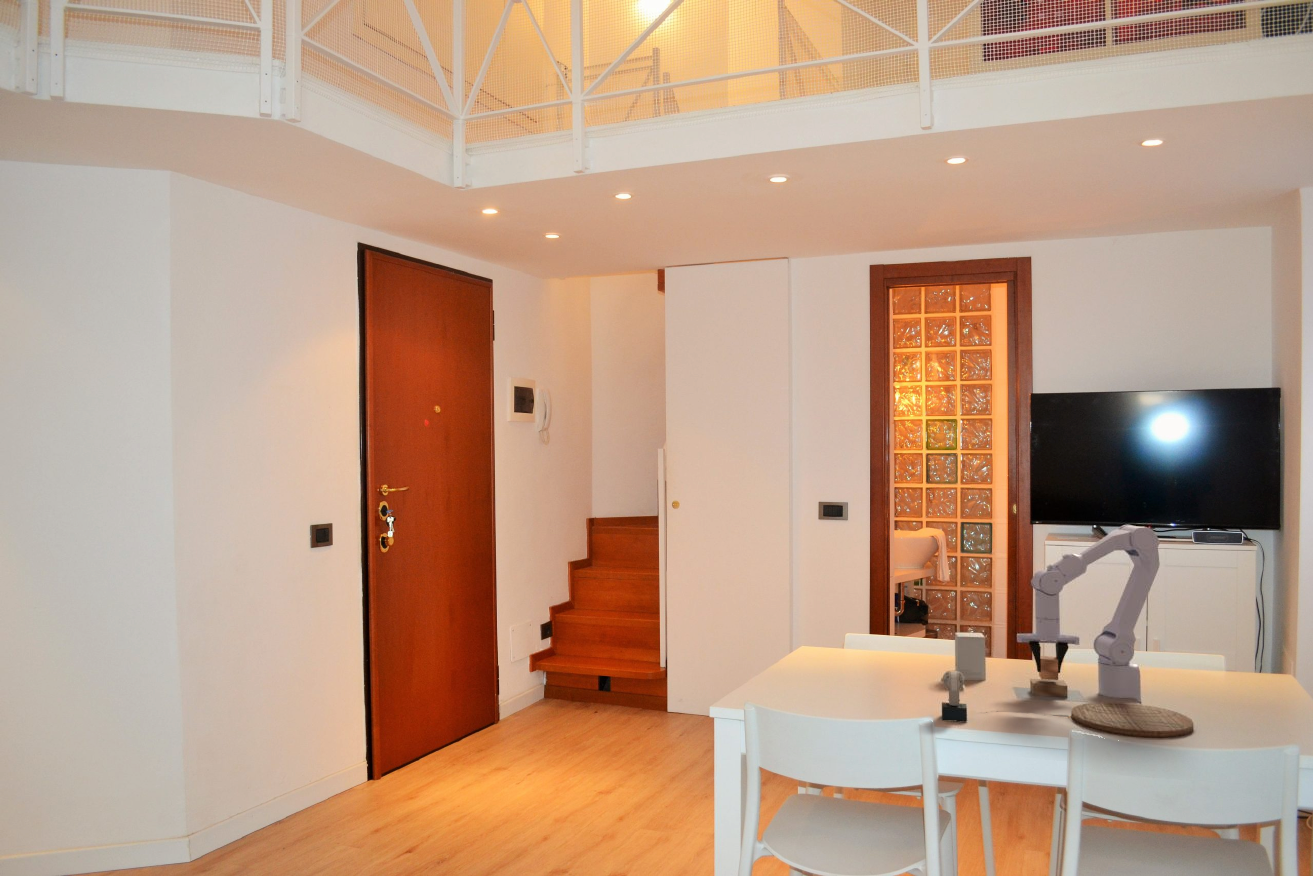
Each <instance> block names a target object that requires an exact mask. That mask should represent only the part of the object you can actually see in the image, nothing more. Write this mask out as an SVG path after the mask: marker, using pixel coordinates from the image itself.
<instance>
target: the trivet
mask: <svg viewBox="0 0 1313 876" xmlns="http://www.w3.org/2000/svg"><path fill="white" fill-rule="evenodd" d="M1071 719H1072V720H1073V722H1075V724H1078V725H1079V726H1081V727H1084V728H1087V729H1090V730H1093V731H1097V732H1101V733H1106V734H1111V735H1116V736H1123V737H1132V738H1141V739H1142V738H1143V739H1170V738H1171V739H1173V738H1180V737H1186V736H1189V735H1191V734H1192V733H1193V731H1194V721H1193V719H1191V718H1190V717H1188V716H1187V715H1186V714H1182V713H1179V712H1177V711H1174V710H1170V709H1166V708H1161V707H1156V706H1151V705H1144V704H1138V703H1125V702H1109V701H1107V702H1106V701H1105V702H1090V703H1082V704H1079V705H1076V706H1074V707H1073V708H1072V709H1071Z"/></svg>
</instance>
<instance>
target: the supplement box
mask: <svg viewBox="0 0 1313 876" xmlns="http://www.w3.org/2000/svg"><path fill="white" fill-rule="evenodd" d="M954 656H955V657H954V659H955V660H954V663H955V664H954V667H955V668H954V669H955V670H954V671H959V672H961V674H962V675H963V676H964V681H965V680H966V681H987V675H986V674H987V671H986V669H987V668H986V660H987V659H986V636H984V635H983V633H981V632H954Z"/></svg>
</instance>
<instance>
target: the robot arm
mask: <svg viewBox="0 0 1313 876" xmlns="http://www.w3.org/2000/svg"><path fill="white" fill-rule="evenodd" d="M1160 543H1161V540H1160V539H1159V538H1158V536H1157V534H1156V533H1155V531H1154V530H1153V529H1152V528H1150V527H1147V526H1136V525H1131V524H1124V525H1121V526H1119V528H1117V529H1113V530H1112V531H1110V532H1109V533H1108V534H1107V535H1105V536H1104V537H1103V538H1101V539H1100V540H1098V541H1097V542H1095V543H1094V544H1092V545H1091V546H1089V547H1087V548H1086V549H1085V550H1083V551H1082V552H1080V553H1079V554H1077V553H1070V554H1069V553H1065V554H1063V555H1062V558H1061V559H1060V560H1058V561H1056V562H1054V563H1053V564H1047V566H1046V569H1039V570H1037V571H1036V572H1035V573H1034V574H1033V576H1032V578H1031V580H1030V583H1031V584H1030V585H1031V587H1032V588H1033V590H1034V591H1035V595H1034V597H1035V599H1034V607H1035V608H1034V609H1035V616H1034V617H1035V633H1017V634H1016V642H1017V643H1028V646H1029V647H1030V650H1031V652H1032V655H1033V658H1034V660H1035V665H1036V671H1037V672H1038V673H1039V672H1041V661H1040V656H1041V648H1042V647H1041V644H1055V657H1056V658H1057V659H1058V674H1061V669H1062V664H1063V661H1064V659H1065V656H1066V655H1067V654H1066V653H1068V650H1069V649H1070V647H1069V645H1075V646H1080V636H1078V635H1068V634H1061V621H1060V618H1061V617H1060V616H1061V615H1060V614H1061V613H1060V593H1061V592H1062V591H1063V589H1064V586H1066V585H1068V584H1069V583H1070V582H1072V581H1073V580H1075V579H1077V578H1079V577H1080V576H1082V575H1084V574H1085V573H1086V572H1087V568H1088V566H1089V565H1091V564H1093V563H1094V562H1097V561H1098V560H1100V559H1102V558H1104V557H1106V556H1108V555H1109V554H1111V553H1113V552H1115V551H1124V552H1125V553H1126V554H1127V555H1128V556H1129V559H1130V560H1131V562H1132V563H1133V567H1132V570H1131V572H1130V575H1129V576H1128V579H1127V582H1126V584H1125V586H1124V587H1125V588H1124V589H1123V591H1122V594H1121V597H1120V599H1119V601H1118V604H1117V606H1116V609H1115V611H1114V613H1113V615H1112V619H1111V621H1110V622H1109V623H1106V625H1104V627H1103V628H1102V630H1101V632H1100V633H1099V634H1098V635H1097V636H1096V637H1095V638H1094V640H1093V649H1094V652H1095V653H1096V654H1097V655H1098V657H1097V667H1098V668H1097V675H1098V678H1097V679H1098V681H1097V682H1098V694H1099V695H1101V696H1104V697H1108V698H1116V699H1117V698H1120V699H1121V698H1122V699H1123V698H1126V699H1127V698H1128V699H1135V700H1136V701H1137V702H1138V703H1142V692H1141V691H1142V690H1141V688H1142V686H1141V671H1140V667H1139V665H1138V664H1137V663H1131V661H1132V660H1133V658H1134V655H1135V644H1136V641H1137V638H1136V636H1135V631H1134V630H1135V627H1136V624H1137V622H1138V619H1139V617H1140V615H1141V613H1142V610H1143V608H1144V605H1145V603H1146V600H1147V597H1148V596H1149V593H1150V591H1151V587H1152V586H1153V584H1154V580H1155V578H1156V577H1157V573H1158V571H1159V569H1160V564H1161V562H1160V554H1159V545H1160Z"/></svg>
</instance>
